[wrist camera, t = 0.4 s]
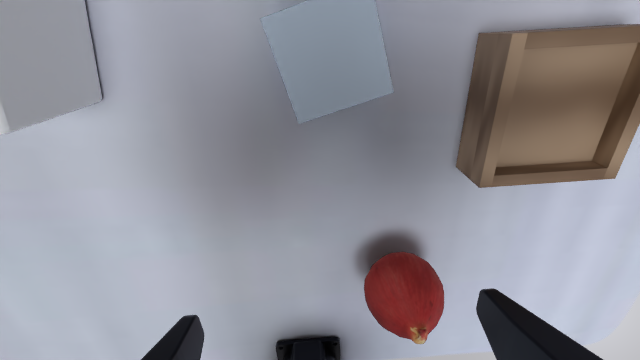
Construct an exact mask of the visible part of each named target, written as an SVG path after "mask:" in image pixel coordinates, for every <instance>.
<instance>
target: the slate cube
mask: <svg viewBox="0 0 640 360" xmlns="http://www.w3.org/2000/svg"><path fill="white" fill-rule="evenodd" d="M260 20H261V23H262V26H263V28H264V31H265V34H266V36H267V39H268V42H269V45H270V47H271V50H272V53H273V55H274V58H275V61H276V64H277V66H278V69H279V72H280V74H281V77H282V80H283V83H284V85H285V88H286V91H287V94H288V96H289V99H290V102H291V104H292V107H293V110H294V113H295V115H296V118H297V121H298V123H299V124H301V123H304V122H307V121H310V120H313V119H316V118H319V117H322V116H325V115H328V114H331V113H334V112H337V111H340V110H343V109H346V108H349V107H352V106H355V105H358V104H361V103H364V102H367V101H370V100H373V99H376V98H379V97H382V96H385V95H388V94H391V93H394V91H393V86H392V81H391V76H390V71H389V66H388V61H387V56H386V51H385V47H384V42H383V37H382V32H381V27H380V22H379V17H378V12H377V7H376V2H375V0H308V1H305V2H302V3H300V4H297V5H294V6H292V7H289V8H286V9H284V10H281V11H279V12H276V13H273V14H271V15H268V16H265V17H263V18H260Z"/></svg>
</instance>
